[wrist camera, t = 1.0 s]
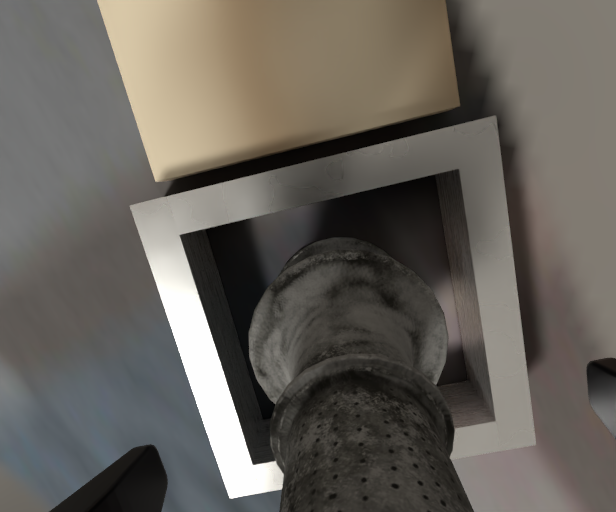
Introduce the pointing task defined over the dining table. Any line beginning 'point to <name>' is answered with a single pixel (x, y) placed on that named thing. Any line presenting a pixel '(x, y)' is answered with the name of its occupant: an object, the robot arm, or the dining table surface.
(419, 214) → the dining table surface
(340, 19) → the wooden square board
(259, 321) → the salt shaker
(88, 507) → the robot arm
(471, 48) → the dining table surface
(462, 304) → the grey square frame
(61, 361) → the dining table surface
